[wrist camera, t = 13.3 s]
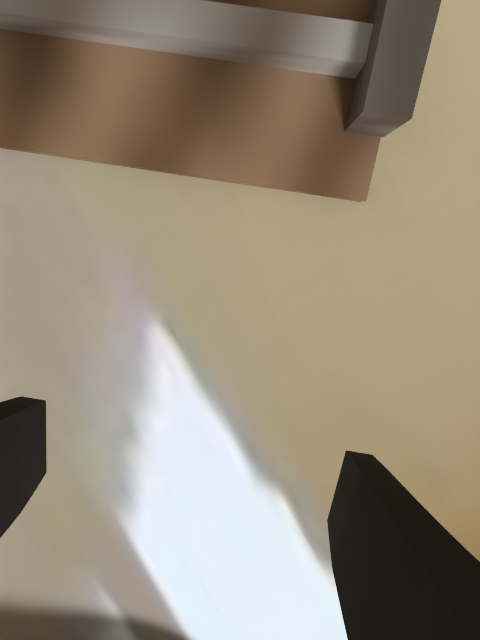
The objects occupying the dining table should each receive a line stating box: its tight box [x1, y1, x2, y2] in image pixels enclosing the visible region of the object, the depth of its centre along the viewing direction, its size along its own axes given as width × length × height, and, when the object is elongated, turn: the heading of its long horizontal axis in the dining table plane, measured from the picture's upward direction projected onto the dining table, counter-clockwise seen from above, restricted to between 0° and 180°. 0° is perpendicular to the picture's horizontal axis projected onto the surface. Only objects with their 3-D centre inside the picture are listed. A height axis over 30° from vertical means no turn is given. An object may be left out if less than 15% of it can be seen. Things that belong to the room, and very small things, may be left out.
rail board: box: [0, 0, 441, 201], centre depth 14 cm, size 30×10×4 cm, turn 82°
